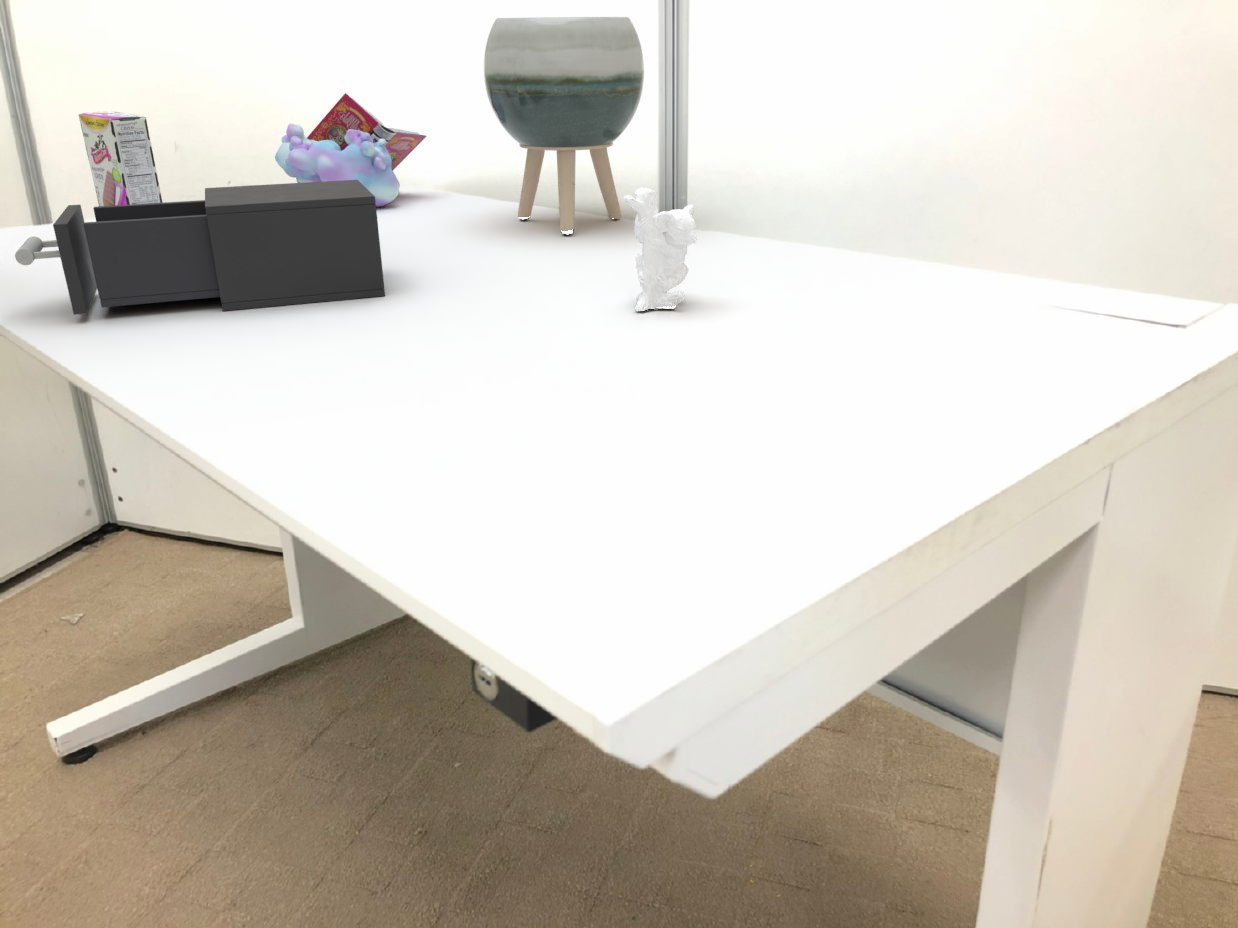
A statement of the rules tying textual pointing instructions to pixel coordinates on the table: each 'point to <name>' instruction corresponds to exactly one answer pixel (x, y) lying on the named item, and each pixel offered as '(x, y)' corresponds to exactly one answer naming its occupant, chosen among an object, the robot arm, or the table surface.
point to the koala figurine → (660, 249)
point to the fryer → (294, 243)
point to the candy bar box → (120, 158)
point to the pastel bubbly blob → (348, 150)
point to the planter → (564, 96)
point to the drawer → (132, 254)
